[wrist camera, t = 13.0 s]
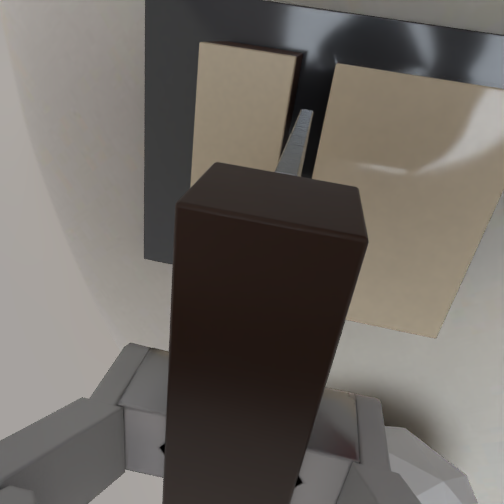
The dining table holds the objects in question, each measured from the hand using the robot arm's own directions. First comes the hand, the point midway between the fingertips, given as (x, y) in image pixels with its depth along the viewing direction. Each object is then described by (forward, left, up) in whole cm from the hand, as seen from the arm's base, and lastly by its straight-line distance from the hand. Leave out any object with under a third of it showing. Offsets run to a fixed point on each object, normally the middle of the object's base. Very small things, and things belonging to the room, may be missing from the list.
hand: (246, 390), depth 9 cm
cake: (0, +1, -17) cm, 17 cm away
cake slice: (0, -3, -17) cm, 17 cm away
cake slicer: (0, 0, -7) cm, 7 cm away
